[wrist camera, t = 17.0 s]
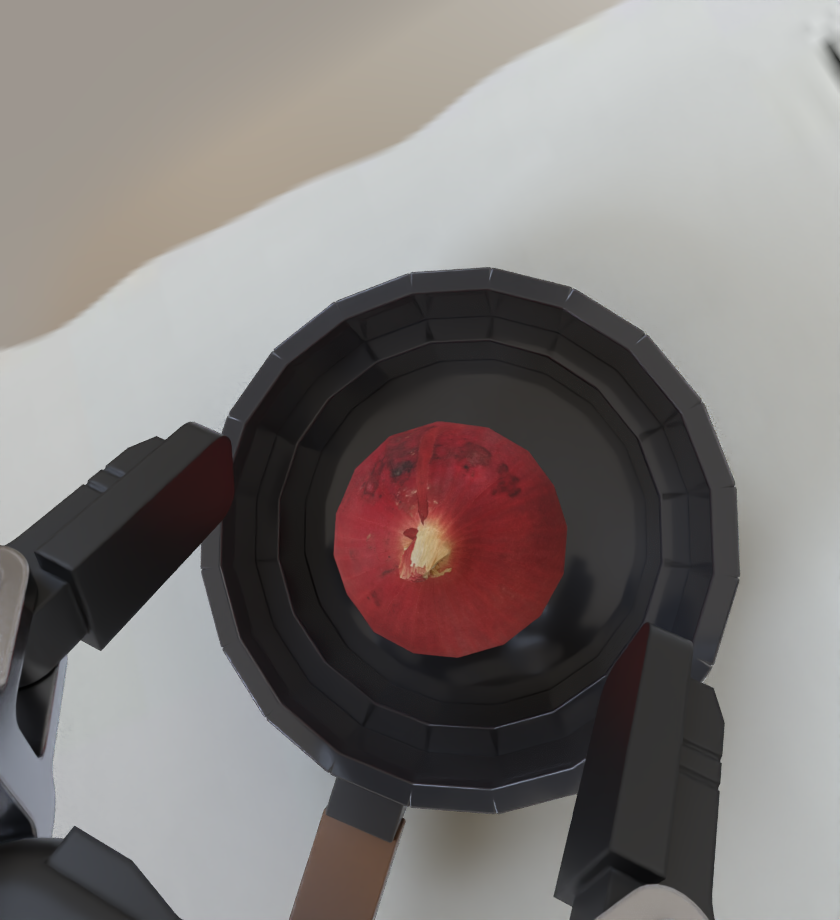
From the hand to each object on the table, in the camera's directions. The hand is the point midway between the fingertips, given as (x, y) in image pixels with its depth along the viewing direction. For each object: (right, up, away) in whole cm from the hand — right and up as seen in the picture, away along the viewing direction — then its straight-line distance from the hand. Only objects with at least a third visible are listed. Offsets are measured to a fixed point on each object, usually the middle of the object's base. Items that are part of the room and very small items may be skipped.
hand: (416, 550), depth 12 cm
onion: (+1, -1, +9) cm, 9 cm away
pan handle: (-2, -10, +6) cm, 12 cm away
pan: (+2, -1, +9) cm, 9 cm away
